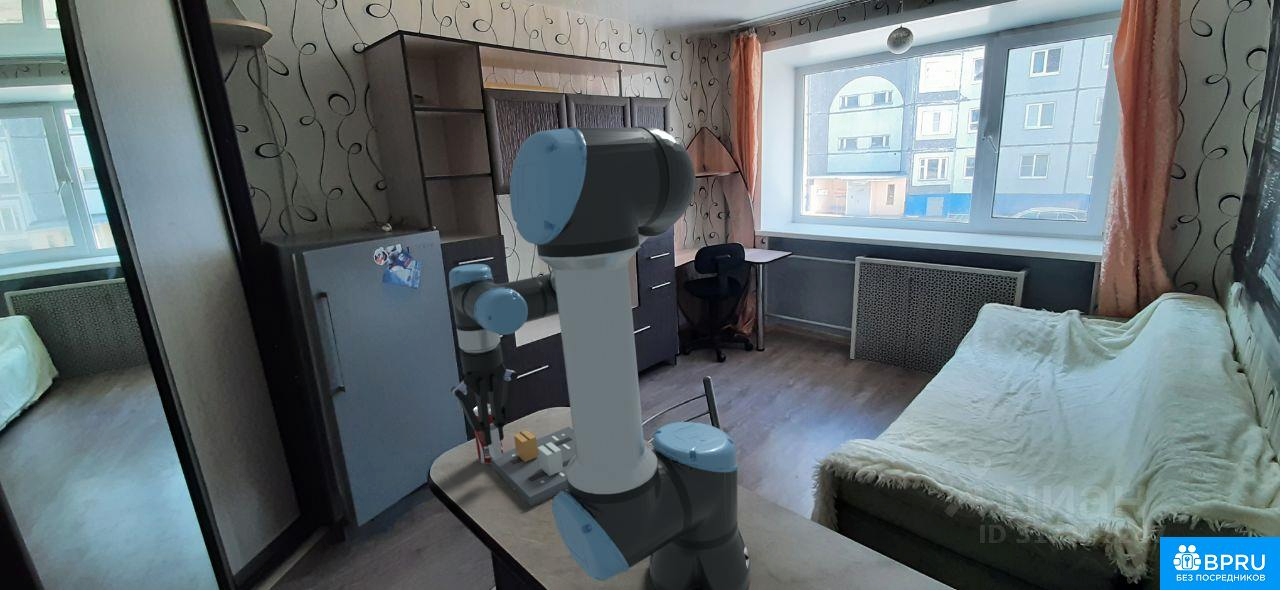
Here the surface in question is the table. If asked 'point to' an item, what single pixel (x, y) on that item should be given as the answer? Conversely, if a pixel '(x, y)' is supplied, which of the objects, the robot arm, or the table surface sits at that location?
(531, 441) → the orange fader
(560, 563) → the table surface
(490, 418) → the soda can
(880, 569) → the table surface
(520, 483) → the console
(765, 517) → the table surface
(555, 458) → the grey fader
